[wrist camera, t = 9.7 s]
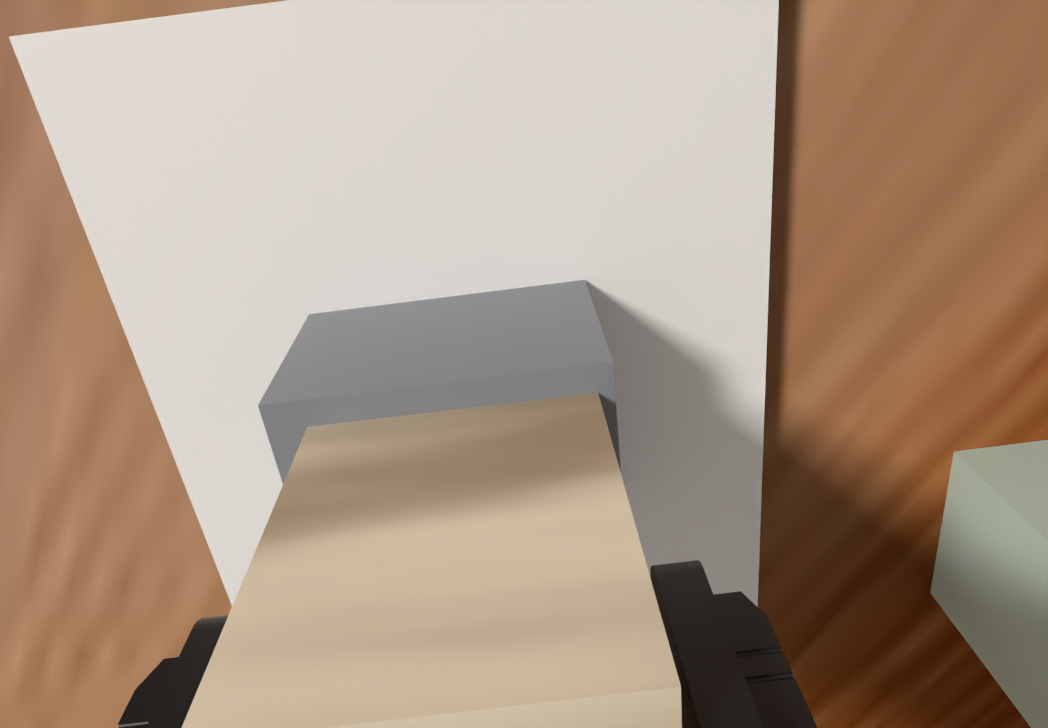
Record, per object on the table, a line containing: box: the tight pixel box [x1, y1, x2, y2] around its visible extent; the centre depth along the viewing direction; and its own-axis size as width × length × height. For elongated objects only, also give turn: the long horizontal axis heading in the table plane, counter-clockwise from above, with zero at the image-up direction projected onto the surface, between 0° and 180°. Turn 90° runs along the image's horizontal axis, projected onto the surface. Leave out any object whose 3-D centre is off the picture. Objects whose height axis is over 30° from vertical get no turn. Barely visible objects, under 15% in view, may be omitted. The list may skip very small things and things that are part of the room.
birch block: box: [182, 393, 682, 728], centre depth 11 cm, size 5×5×6 cm
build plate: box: [9, 0, 779, 607], centre depth 16 cm, size 18×14×5 cm
